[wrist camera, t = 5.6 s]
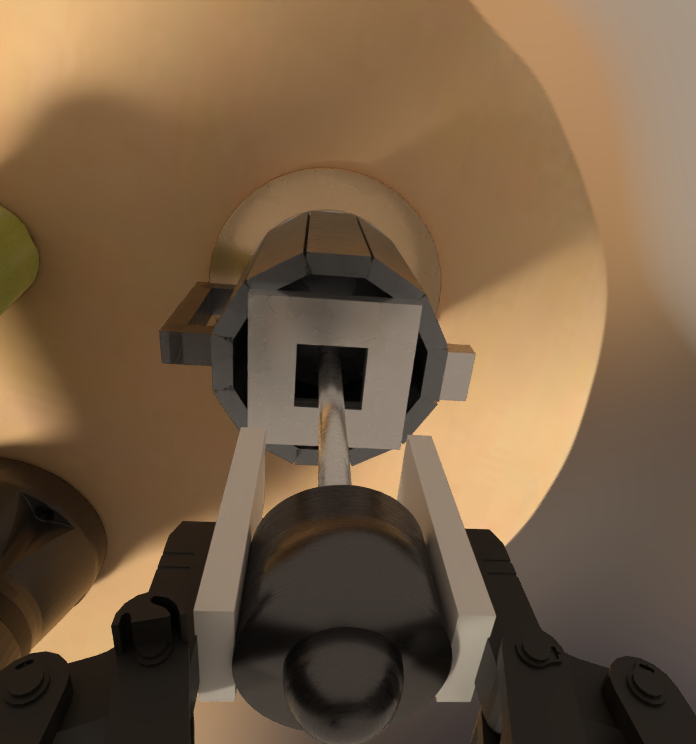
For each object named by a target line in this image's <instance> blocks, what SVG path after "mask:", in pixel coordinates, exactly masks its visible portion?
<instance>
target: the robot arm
mask: <svg viewBox="0 0 696 744" xmlns="http://www.w3.org/2000/svg"><path fill="white" fill-rule="evenodd" d="M265 450H266V428H249V427H241V428H240V432H239V436H238V440H237V444H236V448H235V452H234V456H233V459H232V463H231V467H230V471H229V475H228V479H227V483H226V487H225V490H224V494H223V498H222V502H221V506H220V510H219V514H218V518H217V521H216V522H194V521H182V522H181V524H180V525H179V526H178V527H177V528H176V529H175V530H174V531H173V532H172V533H171V534H170V535H169V537H168V540H167V543H166V545H165V548H164V551H163V556H161V559H160V562H159V565H158V569H157V570H156V573H155V576H154V578H153V581H152V584H151V587H150V589H149V592H147V593H144V594H141V595H138V596H136V597H134V598H133V599H131V600H129V601H128V602H126V603H125V604H124V605H123V606H122V607H121V608H120V610H119V611H118V612H117V613H116V614H115V617H114V620H113V622H112V625H111V628H112V634H113V641H114V648H112V649H110V650H109V651H107V652H104V653H102V654H99V655H96V656H93V657H90V658H86V659H82V660H79V661H75V662H72V663H68V664H67V661H66V660H64V659H63V658H62V657H61V656H60V655H59V654H55V653H51V652H47V651H45V652H38V653H31V654H29V653H30V652H31V650H32V648H33V647H34V646H35V645H36V644H37V643H38V642H39V641H40V640H41V639H42V638H43V637H44V636H45V635H46V634H47V633H48V632H49V631H50V630H52V629H53V628H54V627H55V626H56V624H57V623H58V622H59V621H60V620H61V619H62V618H63V617H64V616H65V615H66V614H67V613H68V612H69V611H70V610H71V609H72V608H73V607H74V606H76V605H77V604H78V603H79V602H80V601H81V600H82V599H83V598H84V597H85V595H86V594H87V593H88V591H89V590H90V588H91V587H92V585H93V583H94V581H95V579H96V577H97V575H98V573H99V571H100V569H101V567H102V565H103V562H104V559H105V555H106V536H105V532H104V528H103V526H102V523H101V521H100V519H99V517H98V515H97V514H96V512H95V511H94V509H93V508H92V506H91V505H90V504H89V503H88V502H87V500H86V499H85V498H84V497H83V496H82V495H81V494H80V493H78V492H77V491H76V490H75V489H74V488H72V487H71V486H70V485H68V484H67V483H66V482H64V481H63V480H61V479H59V478H58V477H56V476H54V475H52V474H50V473H48V472H46V471H44V470H42V469H39V468H37V467H34V466H31V465H28V464H25V463H22V462H18V461H13V460H8V459H2V458H0V744H194V713H193V712H194V707H195V702H196V697H197V693H198V696H199V701H235V699H236V692H237V687H236V685H235V682H234V679H233V674H232V657H233V651H234V647H235V641H236V634H237V628H238V622H239V616H240V610H241V604H242V597H243V591H244V585H245V579H246V573H247V566H248V560H249V554H250V548H251V542H252V538H253V535H254V533H255V531H256V528H257V526H258V525H259V523H260V522H261V519H262V513H263V506H264V496H265ZM397 501H398V502H400V503H401V504H402V505H403V506H405V507H406V508H407V509H408V510H409V511H410V512H411V514H412V515H413V516H414V517H415V519H416V520H417V522H418V524H419V526H420V528H421V530H422V533H423V537H424V541H425V545H426V549H427V553H428V557H429V561H430V565H431V569H432V573H433V577H434V581H435V584H436V588H437V592H438V596H439V600H440V604H441V608H442V612H443V616H444V620H445V624H446V628H447V632H448V636H449V640H450V644H451V648H452V664H451V670H450V672H449V675H448V678H447V680H446V681H445V683H444V685H443V687H442V688H441V689H440V691H439V692H438V693H437V694H436V695H435V696H436V700H437V702H470V701H471V698H472V695H473V692H474V688H475V687H476V690H477V693H478V697H479V700H480V704H481V707H480V710H479V714H478V717H477V720H476V723H475V726H474V730H473V733H472V737H471V744H476V743H477V740H478V744H696V715H695V714H694V712H693V711H692V709H691V707H690V706H689V704H688V703H687V701H686V700H685V698H684V697H683V695H682V694H681V692H680V691H679V689H678V688H677V686H676V685H675V684H674V683H673V682H672V680H671V679H670V678H669V677H668V676H667V675H666V674H665V673H664V672H663V671H661V670H660V669H659V668H657V667H656V666H655V665H653V664H651V663H649V662H647V661H645V660H643V659H641V658H636V657H630V656H625V657H621V658H617V659H616V660H615V661H614V662H613V663H612V664H611V665H610V667H609V668H606V667H602V666H599V665H597V664H593V663H590V662H587V661H584V660H580V659H578V658H575V657H573V656H570V655H568V654H567V653H565V652H564V650H563V649H562V647H561V646H560V645H559V644H558V642H557V641H556V640H555V639H554V638H553V637H552V636H550V635H549V634H547V633H546V632H544V631H543V630H541V628H540V626H539V624H538V622H537V619H536V617H535V615H534V613H533V610H532V608H531V606H530V604H529V601H528V599H527V597H526V594H525V592H524V590H523V588H522V585H521V583H520V581H519V578H518V577H516V572H515V570H514V567H513V565H512V563H510V558H509V556H508V554H507V551H506V549H505V547H504V544H503V543H502V542H501V541H500V540H499V539H498V538H497V537H496V536H495V535H494V534H493V533H492V532H491V531H490V530H489V529H465V528H464V525H463V523H462V520H461V517H460V514H459V511H458V509H457V506H456V503H455V500H454V498H453V495H452V492H451V489H450V487H449V484H448V481H447V478H446V475H445V473H444V470H443V467H442V464H441V462H440V459H439V456H438V453H437V451H436V448H435V445H434V442H433V439H432V437H431V436H421V435H407V441H406V447H405V453H404V459H403V466H402V472H401V478H400V484H399V491H398V497H397Z"/></svg>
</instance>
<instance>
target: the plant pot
mask: <svg viewBox="0 0 696 744" xmlns="http://www.w3.org/2000/svg"><path fill="white" fill-rule="evenodd" d="M38 268H39V254H38V250H37V248H36V246H35V245H34V243H33V241H32V239H31V237H30V235H29V233H28V230H27V228H26V226H25V225H24V223H23V222H22V221H21V220H20V219H19V218H18V217H16V216H15V215H14V214H13V213H12V212H10V211H9V210H7V209H6V208H4V207H2V206H1V205H0V315H1V314H2V313H3V312H4V311H5V310H6V309H7V308H8V307H9V306H10V305H11V304H12V303H13V302H14V301H15V300H16V299H17V298H18V297H19V296H20V295H21V294H22V293H23V292H24V291H25V290H27V289H28V288H29V287H30V285H31V284H32V283H33V282H34V280H35V278H36V276H37V273H38Z"/></svg>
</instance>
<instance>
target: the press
mask: <svg viewBox="0 0 696 744" xmlns="http://www.w3.org/2000/svg"><path fill="white" fill-rule="evenodd" d="M309 274H314V275H328V276H342V277H356V278H366V279H367V280H368V281H370V282H371V283H373V284H374V285H376V286H377V287H379V288H380V289H382V290H383V291H384V293H385V295H386V297H373V296H359V295H345V294H330V293H316V292H301V291H287V290H277V289H279V288H282V287H284V286H286V285H288V284H290V283H292V282H294V281H296V280H298V279H300V278H302V277H305V276H307V275H309ZM440 290H441V271H440V265H439V259H438V254H437V251H436V248H435V245H434V242H433V240H432V237H431V235H430V233H429V231H428V229H427V227H426V226H425V224H424V222H423V221H422V219H421V218H420V216H419V215H418V214H417V212H416V211H415V210H414V209H413V208H412V207H411V206H410V204H409V203H408V202H407V201H405V200H404V199H403V198H402V197H401V196H400V195H399V194H397V193H396V192H395V191H394V190H392V189H391V188H389V187H388V186H386V185H384V184H383V183H381V182H379V181H377V180H375V179H373V178H371V177H369V176H367V175H363V174H360V173H357V172H354V171H350V170H343V169H337V168H313V169H305V170H300V171H296V172H292V173H288V174H285V175H283V176H281V177H278V178H276V179H274V180H271V181H270V182H268V183H266V184H265V185H263V186H261V187H260V188H258V189H257V190H256V191H254V192H253V193H252V194H251V195H249V196H248V197H247V198H246V199H245V200H244V201H243V202H242V203H241V204H240V205H239V206H238V207H237V208H236V209H235V211H234V212H233V213H232V214H231V216H230V217H229V219H228V220H227V222H226V223H225V225H224V226H223V228H222V230H221V233H220V235H219V237H218V239H217V241H216V244H215V247H214V250H213V253H212V259H211V264H210V273H209V283H205V282H197V283H196V284H195V286H194V287H193V288H192V290H191V291H190V292H189V293H188V295H187V296H186V297H185V299H184V300H183V301H182V302H181V304H180V305H179V306H178V308H177V309H176V310H175V311H174V313H173V314H172V315H171V317H170V318H169V319H168V320H167V322H166V323H165V324H164V326H163V327H162V328H161V329H160V331H159V333H160V346H161V359H162V363H166V364H184V365H201V366H212V388H213V390H214V394H215V396H216V397H217V399H218V400H219V402H220V403H221V405H222V406H223V408H224V409H225V411H226V412H227V414H228V415H229V417H230V418H231V420H232V421H233V423H234V424H235V426H236V427H237V429H238V430H239V432H240V428H241V427H249V428H266V450H268V451H269V452H271V453H273V454H275V455H277V456H279V457H281V458H283V459H285V460H286V461H288V462H290V463H292V464H293V462H294V461H295V460H296V464H297V465H318V449H319V386H316V385H311V384H307V383H305V382H302V381H299V380H297V379H295V378H296V357H297V344H310V345H327V346H343V347H360V348H366V354H365V363H364V372H363V377H362V378H360V379H358V380H356V381H353V382H350V383H348V384H344V385H343V395H344V406H345V417H346V428H347V439H348V450H349V461H350V463H351V465H352V466H353V465H356V464H358V463H361V462H363V461H366V460H368V459H370V458H373V457H375V456H378V455H380V454H382V453H385V452H387V451H390V450H392V449H396V450H400V447H401V443H403V444H404V443H405V442H406V441H407V435H412V434H413V432H414V431H415V430H416V429H417V428H418V427H419V425H420V424H421V423H422V422H423V421H424V420H425V419H426V417H427V416H428V415H429V414H430V413H431V412H432V410H433V409H434V408H435V407H436V406H437V405H438V404H437V402H439V400H453V401H466V398H467V393H468V388H469V383H470V379H471V374H472V369H473V364H474V360H475V355H476V353H475V352H474V351H473V349H472V348H471V346H470V345H459V344H447V343H446V340H445V338H444V335H443V333H442V331H441V328H440V326H439V323H438V321H437V319H436V313H437V308H438V304H439V300H440ZM212 314H213V315H215V317H216V320H217V323H216V325H215V326H206V325H207V323H208V321H209V319H210V317H211V316H212Z"/></svg>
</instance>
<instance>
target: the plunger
mask: <svg viewBox="0 0 696 744" xmlns="http://www.w3.org/2000/svg"><path fill="white" fill-rule="evenodd" d="M277 290H287V291H301V292H316V293H330V294H345V295H359V296H373V297H386V295H385V293H384V291H383V290H382V289H380V288H379V287H377V286H376V285H374V284H373V283H371V282H370V281H368V280H367V279H366V278H356V277H342V276H328V275H314V274H309V275H307V276H305V277H302V278H300V279H298V280H296V281H294V282H292V283H290V284H288V285H286V286H284V287H282V288H279V289H277ZM365 354H366V348H360V347H343V346H327V345H310V344H297V357H296V378H295V379H297V380H299V381H302V382H305V383H307V384H311V385H316V386H319V449H318V487H317V488H312V489H308V490H305V491H303V492H300V493H297V494H295V495H293V496H291V497H289V498H287V499H285V500H284V501H282V502H281V503H279V504H278V505H276V506H275V507H274V508H273V509H272V510H270V511H269V512H268V513H267V515H266V516H265V517H264V518H263V519H262V521H261V522H260V523H259V525H258V526H257V528H256V531H255V533H254V535H253V538H252V542H251V548H250V554H249V560H248V566H247V573H246V579H245V585H244V591H243V597H242V604H241V610H240V616H239V622H238V628H237V634H236V641H235V647H234V651H233V657H232V674H233V679H234V682H235V685H236V687H237V689H238V690H239V692H240V694H241V695H242V697H243V698H244V699H245V701H246V702H247V703H248V704H249V705H250V706H251V707H253V708H254V709H255V710H256V711H258V712H259V713H260V714H262V715H263V716H265V717H267V718H269V719H271V720H272V721H275V722H277V723H279V724H282V725H284V726H287V727H291V728H294V729H298V730H303V731H305V732H306V733H307V734H308V735H309V736H311V737H312V738H313V739H315V740H317V741H319V742H320V743H323V744H364V743H365V742H368V741H370V740H371V739H373V738H374V737H376V736H377V735H378V734H379V733H381V732H382V731H383V730H384V729H385V728H386V726H387V725H389V724H392V723H394V722H397V721H399V720H401V719H403V718H405V717H408V716H409V715H411V714H413V713H414V712H416V711H418V710H419V709H421V708H422V707H423V706H424V705H426V704H427V703H428V702H429V701H430V700H431V699H432V698H433V697H434V696H435V695H436V694H437V693H438V692H439V691H440V689H441V688H442V687H443V685H444V683H445V681H446V680H447V678H448V675H449V672H450V670H451V664H452V648H451V644H450V640H449V636H448V632H447V628H446V624H445V620H444V616H443V612H442V608H441V604H440V600H439V596H438V592H437V588H436V584H435V581H434V577H433V573H432V569H431V565H430V561H429V557H428V553H427V549H426V545H425V541H424V537H423V533H422V530H421V528H420V526H419V524H418V522H417V520H416V519H415V517H414V516H413V515H412V514H411V512H410V511H409V510H408V509H407V508H406V507H405V506H403V505H402V504H401V503H400V502H398V501H397V500H395V499H393V498H392V497H390V496H388V495H386V494H384V493H382V492H379V491H376V490H373V489H370V488H365V487H360V486H353V485H352V483H351V472H350V461H349V450H348V439H347V428H346V417H345V406H344V395H343V385H344V384H348V383H350V382H353V381H356V380H358V379H360V378H362V377H363V372H364V363H365Z"/></svg>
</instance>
